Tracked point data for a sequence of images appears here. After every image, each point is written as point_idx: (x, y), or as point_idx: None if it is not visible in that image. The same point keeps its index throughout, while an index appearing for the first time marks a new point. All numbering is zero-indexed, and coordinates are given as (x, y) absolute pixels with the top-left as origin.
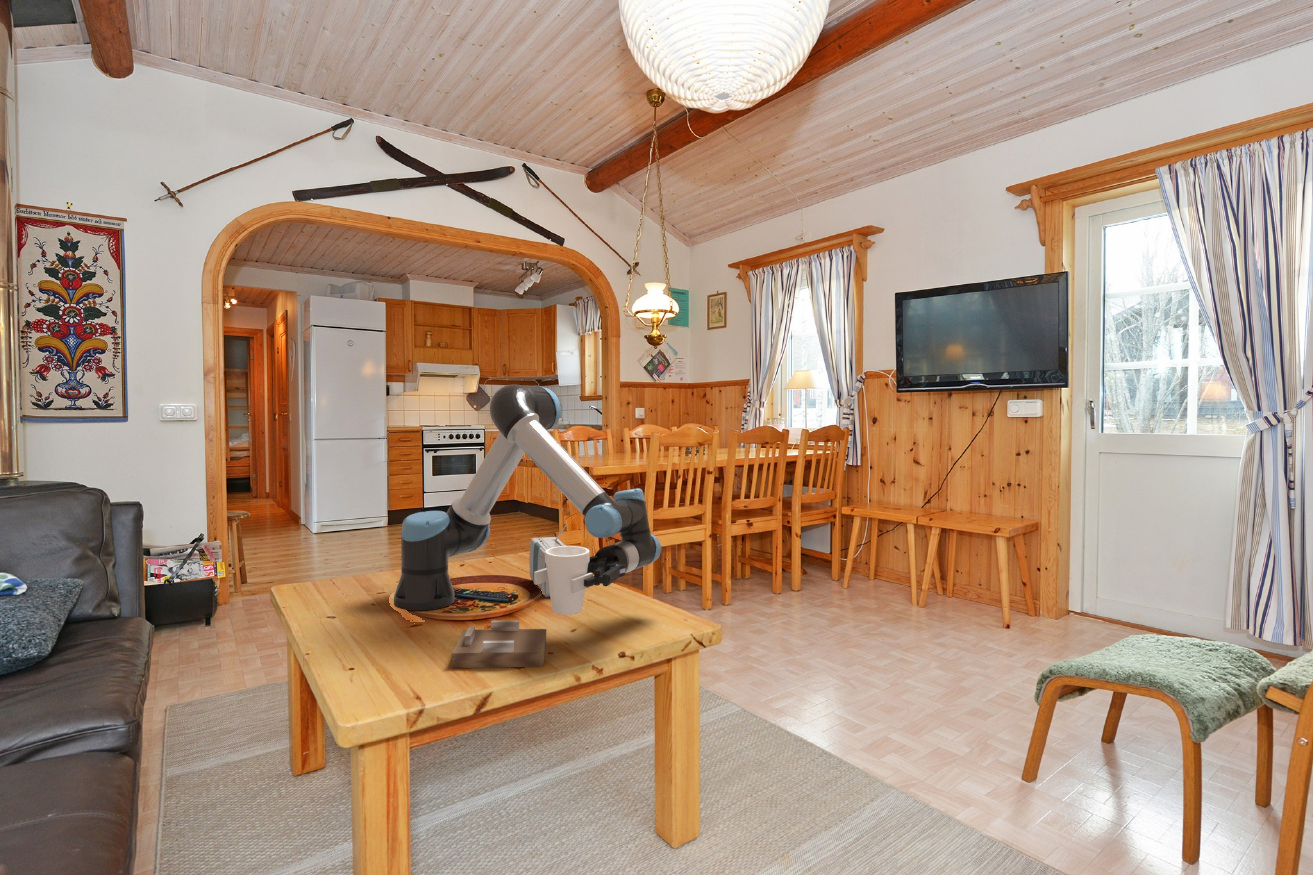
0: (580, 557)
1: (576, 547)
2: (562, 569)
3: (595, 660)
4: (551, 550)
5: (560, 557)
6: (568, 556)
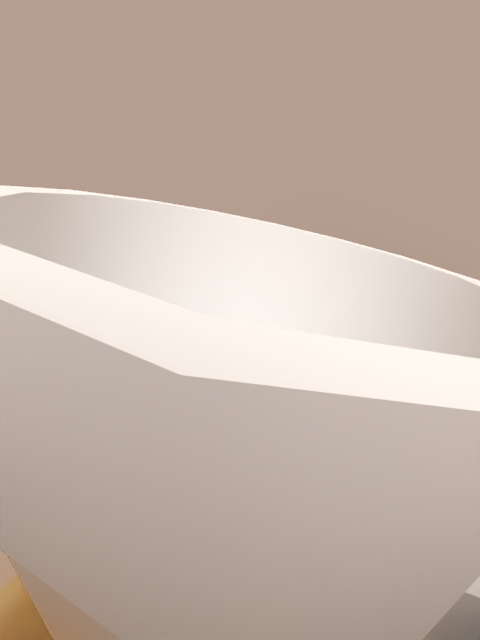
0: (93, 214)
1: (285, 347)
2: (209, 297)
3: (25, 594)
4: (466, 302)
5: (231, 223)
6: (182, 206)
